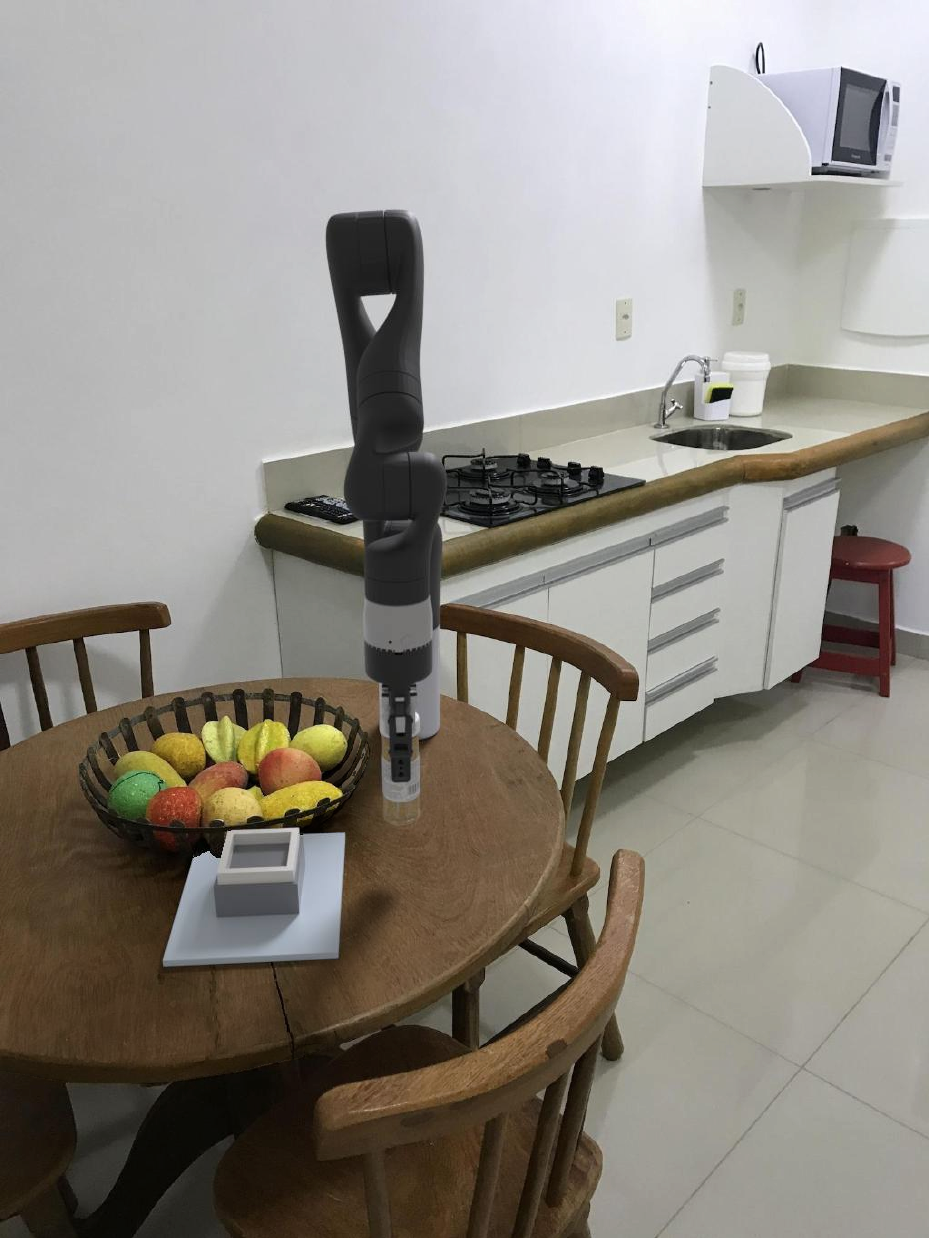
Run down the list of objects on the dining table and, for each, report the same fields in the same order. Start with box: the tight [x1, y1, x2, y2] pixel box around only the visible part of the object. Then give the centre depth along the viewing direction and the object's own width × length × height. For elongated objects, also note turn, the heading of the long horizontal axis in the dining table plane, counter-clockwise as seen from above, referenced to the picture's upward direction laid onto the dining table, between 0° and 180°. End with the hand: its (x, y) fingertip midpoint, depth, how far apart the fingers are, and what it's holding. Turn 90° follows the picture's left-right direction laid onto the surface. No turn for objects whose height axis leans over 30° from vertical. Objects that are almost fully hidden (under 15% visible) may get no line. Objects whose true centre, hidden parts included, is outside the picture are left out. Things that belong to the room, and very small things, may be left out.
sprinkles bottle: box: [379, 710, 421, 826], centre depth 113 cm, size 5×5×14 cm
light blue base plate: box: [162, 827, 346, 968], centre depth 111 cm, size 22×18×6 cm
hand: (400, 768), depth 113 cm, fingers closed on sprinkles bottle, 4 cm apart
